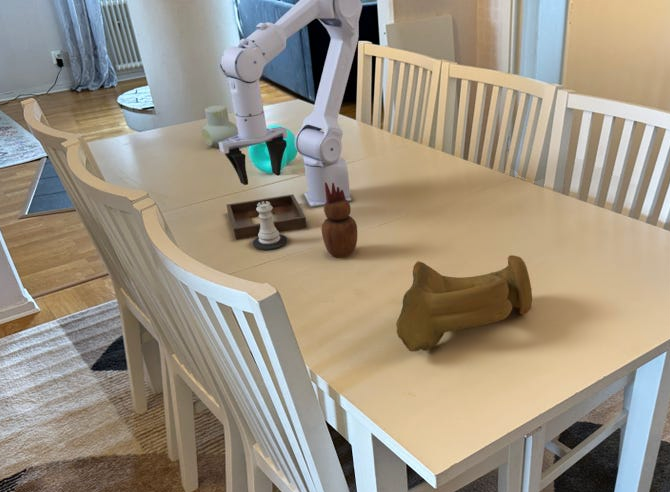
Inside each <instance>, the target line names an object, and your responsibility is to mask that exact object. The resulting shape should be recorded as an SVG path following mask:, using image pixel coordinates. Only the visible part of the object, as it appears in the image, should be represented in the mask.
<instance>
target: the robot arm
mask: <svg viewBox="0 0 670 492" xmlns="http://www.w3.org/2000/svg"><path fill="white" fill-rule="evenodd" d="M362 9H363V3H362V2H361V0H298V1H297V2H295V4H294V5H293V6H292V7H291V8H290V9H289V10H288V11H286V12H285V14H283V15H282V16H281V17H280V18H278V20H277V21H276V22H275V23H272V22H270V21H269V22H268V21H267V22H259V23H258V24H257V25H256V26H255V27H256V29H255V30H254V31H253V32H252V33H251V34H250V35H248V36H247V37H246V38H241V39H240V40H239V41H238V43H239V44H238V45H237V46H233V45H232V46H228V47H227V48H225V50H224V51H223V53H222V56H221V63H218V66H219V69H220V71H221V72H222V74H223V75H224V76H225V77H226V78H227V82H228V86H229V90H230V95H231V101H232V106H233V111H234V116H235V122H236V126H237V128H238V134H239V135H236V136H234V137H232V138H229V139H227V140H224V141H221V142H219V147H218V148H219V152H220V153H222V154H224V156H225V157H226V159H228V161H229V162H230V164H231V165H232V167H233V169H234V171H235V173H236V174H237V177H238V180H239V181H240V183H241V184H242V185H244V186H248V185H249V178H248V173H247V169H246V168H247V167H246V154H245V153H242V150H241V149H244V148H249V146H252V145H256V144H260V143H264V142H266V145H267V148H268V152H269V156H270V161H271V168H272V172H273V175H275V176H278V177H279V176H281V171H282V170H281V162H282V157H283V154H284V151H285V148H286V146H287V143H286V140H283V138H287V137H288V135H287V129H288V128H287V127H286V128H285V126H284V127H282V126H283V125H281V127H276V128H269V129H267V122H266V121H267V120H266V115H265V110H264V104H263V98H262V92H261V91H262V89H261V86H260V85H261V84H260V78H261V77H262V75H263V72H264V68H265V66H267V65H268V64H269V63H270V62H271V61H272V60H274V58H276V57H277V56H279V55H280V54H281V53H282V52H283V51H284V50H286V47H287V40H288V39H289V38H290V37H292V36H293V35H294V34H296V33H297V32H299V31H300V30H301V29H303V28H304V27H305V26H307V25H309V24H310V23H311V22H312V21H315V19H317V20H318V21H319V22H320V24H322V26H323V27H324V28H325V29H326V31H327V33H328V35H329V37H330V41H329V46H328V49H327V54H326V58H325V61H324V65H323V70H322V73H321V77H320V80H319V81H320V82H319V85H318V89H317V93H316V98H315V101H314V105H313V109H312V112H311V114H309V115H308V116H306V117H305V118H304V119H303V120H302V124H301V127H300V128H299V130H298V131H297V133H296V134H295V147H296V149H297V153H298V154H300V155H301V160H302V161H303V165H304V173H305V182H306V190H307V192H304V194H303V195H304V197H305V199H306V201H307V203H308V205H309V206H310V207H311V208H314V207H319V206H324V205H325V203H326V191H325V182H326V183H327V185H328V188H329V190H330V193H331V191H332V183H334V186H335V190H336V191H337V187H339V190H340V191H341V190H343V192H344V195H345V199H346V200H347V201H348V202H351V201H352V198H351V189H350V180H349V179H350V177H349V170H348V165H347V162H346V159H345V157H341V154H342V151H343V144H342V138H343V135H344V132H343V130H342V128H341V126H340V124H339V122H338V119H339V115H340V110H341V106H342V103H343V100H344V95H345V91H346V87H347V84H348V80H349V76H350V72H351V69H352V64H353V61H354V57H355V52H356V49H357V46H358V43H359V37H360V35H359V34H360V33H359V31H360V30H359V27H360V26H359V21H360V17H361V14H362Z"/></svg>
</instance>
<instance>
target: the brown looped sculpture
mask: <svg viewBox="0 0 670 492" xmlns="http://www.w3.org/2000/svg"><path fill="white" fill-rule="evenodd" d="M412 268H413V269H412V278H413V279H412V284H411V286H410V288H409V289H407V291H405V293H404V295H403V297H402V307H401V310H400V313H399V316H398V319H397V320H396V335H397V337H398V338H399V339H400V340H401V341H402V343H403V345H404V346H405V347H406V349H407V350H408V351H409V352H411V353H412V352H420V351H430V350H433V349H434V348H435V347H436V346H437V345H438V344H439V343H440V341H441V339H442V337H443V336H444V334H445V333H449V332H456V331H460V330H463V329H467V328H468V329H469V328H474V327H479V326H484V325H488V324H489V325H490V324H493V323H496V322H500V321H502V320H505V319H506V318H508V317H509V316H510V313H511V312H512V310H513V308H517V311H518V313H519V314H520V315H524V314H527V313H528V312H529V311H530V310H531V309H532V307H533V306H532V305H533V292H532V291H533V290H532V285H531V279H530V275H529V272H528V271H529V270H528V267H527V265H526V262H525V261H524V260H523V258H522V257H520V256H517V255H515V254H514V255H513V254H512V255H511V254H510V255H509V256H508V257H507V265H506V266H505V268H504V267H503V268H502V269H500V270H496V271H492V272H489V273H486V274H481V275H475V276H466V277H465V276H463V277H456V276H448V275H447V276H446V275H442V274H440V272H438V271H436V269H434V268H432V267H431V266H429V265H427V264H426V263H425V262H423V261H419V260H418V261H416V262H415V264H414V265H413V267H412Z"/></svg>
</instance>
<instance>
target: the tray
mask: <svg viewBox="0 0 670 492" xmlns="http://www.w3.org/2000/svg"><path fill="white" fill-rule="evenodd" d="M263 201H264V204H266V201H267V202H269V203H270V205H271V206H272V207H273V208H272V210H271V213H272V214H273V215H275V217H276V220H273V223H274V226H275V227H276V229H277V230H278V231H279V233H284V232H285V233H286V232H290V231H296V230H302V229H303V230H304V229H307V228H308V225H307V219H306V216H305V214H304V211H303V210H302V208H301V206H300V204H299V202H298V200H297V198H296V196H295V195H294V194H286V195H280V196H273V197H266V198H260V199H253V200H247V201H246V200H245V201H240V202H233V203H227V204H226V209H227V214H228V218H229V221H230V225H231V228H232V231H233V235H234V238H235V241H237V240H243V239H248V238H249V239H250V238H254V237H258V233H259V232H260V231H259V230H260V223H254V224H253V223H252V220H251V219H252V218H259V212H258V211H257V210H256V208H257V207H258V206H257V204H258V203H259V202H260V203H261V204H262V202H263Z"/></svg>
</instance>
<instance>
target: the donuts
mask: <svg viewBox="0 0 670 492" xmlns="http://www.w3.org/2000/svg"><path fill="white" fill-rule="evenodd" d="M281 126H282V127H285V126H284V125H280V124H272V125H268V126H266V128H267V129H269V128H276V127H281ZM285 128H287V127H285ZM287 135H288V137H287V138H283V140H286V143H287V146H286V148H285V151H284V154H283V157H282V162H281V171H282V170H283V169H284V168H285V167H286V164H289V163H291V162H293V161H294V159H296V157H297V154H298V151H297V149H296V147H295V138H296V135H295V134H293V131H291V130H290V129H289V128H287ZM248 156H249V159H250V162H251V163H252V164H253V166H254V167H255V168H256V169H257V170H259V171H260V172H262V173H265V174H267V175H268V174H269V175H272V174H273V172H272V168H271V161H270V156H269V152H268V148H267V145H266V142H264V143H260V144H256V145H252V146H248ZM273 175H274V174H273Z"/></svg>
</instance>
